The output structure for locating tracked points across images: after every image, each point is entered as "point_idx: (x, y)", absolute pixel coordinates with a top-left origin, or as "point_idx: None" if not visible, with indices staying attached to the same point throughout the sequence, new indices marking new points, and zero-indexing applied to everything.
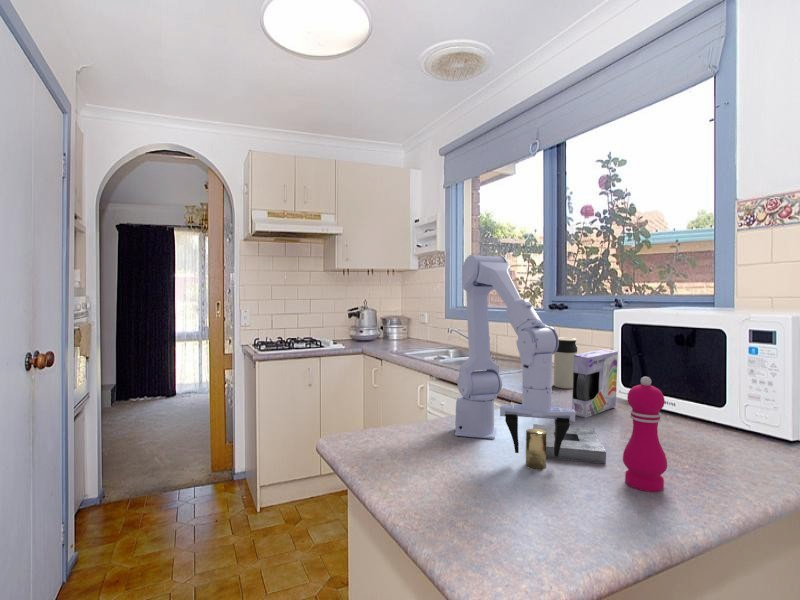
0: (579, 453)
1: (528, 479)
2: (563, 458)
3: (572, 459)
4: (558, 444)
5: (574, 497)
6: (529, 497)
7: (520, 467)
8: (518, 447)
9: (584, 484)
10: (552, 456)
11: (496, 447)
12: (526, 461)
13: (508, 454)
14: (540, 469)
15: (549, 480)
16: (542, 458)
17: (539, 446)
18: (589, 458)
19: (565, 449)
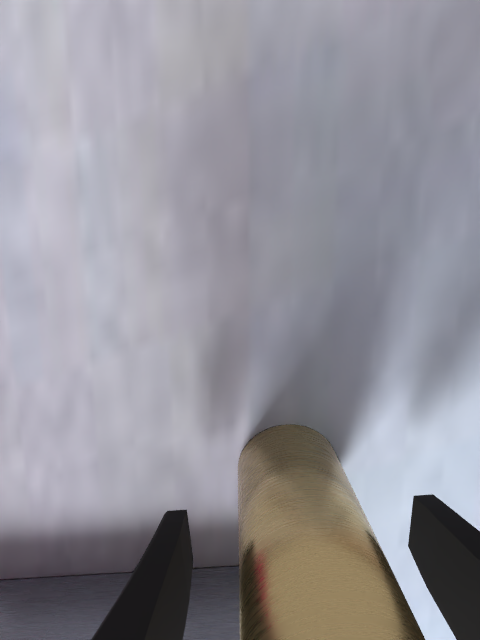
0: (70, 620)
1: (329, 285)
2: None
3: (119, 578)
4: (135, 598)
5: (78, 110)
6: (333, 9)
7: (364, 426)
8: (442, 527)
9: (43, 315)
10: (209, 578)
11: None
12: (342, 468)
13: None
14: (266, 429)
15: (220, 308)
16: (261, 478)
17: (296, 547)
18: (35, 598)
19: None
